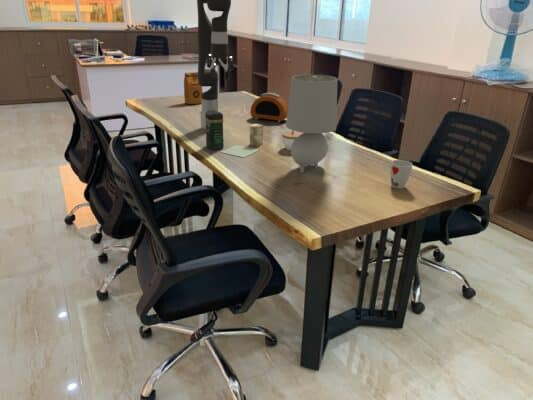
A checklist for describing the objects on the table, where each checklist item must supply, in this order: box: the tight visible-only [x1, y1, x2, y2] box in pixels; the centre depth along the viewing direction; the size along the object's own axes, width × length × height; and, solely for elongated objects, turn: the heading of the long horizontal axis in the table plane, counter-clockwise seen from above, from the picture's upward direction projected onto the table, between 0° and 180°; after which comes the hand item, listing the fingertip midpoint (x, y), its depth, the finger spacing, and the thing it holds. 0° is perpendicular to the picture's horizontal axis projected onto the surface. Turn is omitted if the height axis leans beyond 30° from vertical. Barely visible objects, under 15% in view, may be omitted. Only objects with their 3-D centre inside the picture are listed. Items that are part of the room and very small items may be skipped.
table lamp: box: [285, 74, 338, 174], centre depth 179 cm, size 23×22×40 cm
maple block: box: [249, 123, 264, 147], centre depth 216 cm, size 5×5×10 cm
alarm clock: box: [250, 92, 289, 123], centre depth 263 cm, size 23×9×17 cm, turn 68°
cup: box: [390, 159, 413, 190], centre depth 170 cm, size 8×8×10 cm
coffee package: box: [183, 71, 203, 105], centre depth 298 cm, size 10×12×22 cm
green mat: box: [220, 144, 260, 158], centre depth 207 cm, size 14×14×1 cm
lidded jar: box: [281, 130, 303, 152], centre depth 211 cm, size 11×11×9 cm
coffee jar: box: [205, 110, 224, 151], centre depth 208 cm, size 10×8×19 cm
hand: (220, 78), depth 198 cm, fingers open, 8 cm apart
